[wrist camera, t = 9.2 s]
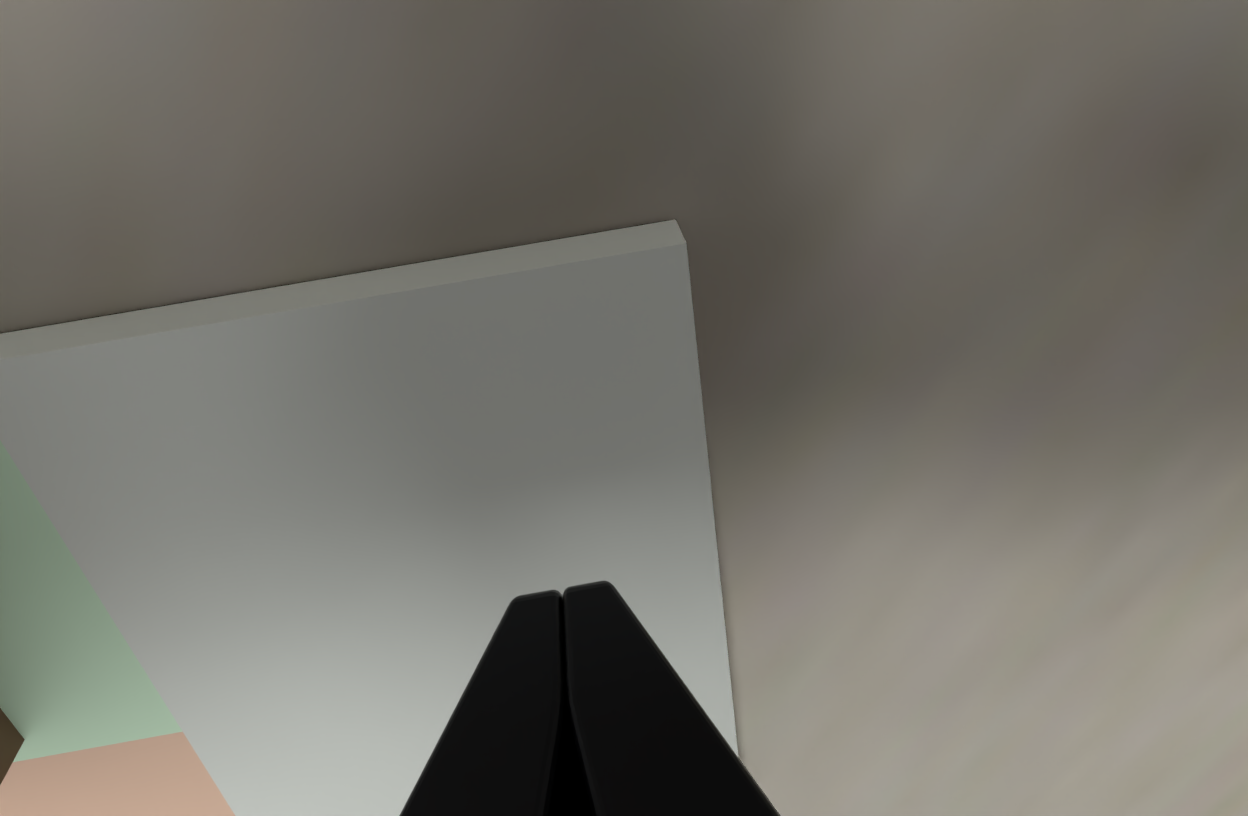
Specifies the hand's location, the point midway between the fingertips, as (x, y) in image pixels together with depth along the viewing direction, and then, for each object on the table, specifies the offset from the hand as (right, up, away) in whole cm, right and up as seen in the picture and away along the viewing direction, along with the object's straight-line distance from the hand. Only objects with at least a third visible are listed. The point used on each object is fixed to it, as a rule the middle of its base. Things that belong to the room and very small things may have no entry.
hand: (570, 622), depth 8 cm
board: (-5, -1, +3) cm, 6 cm away
